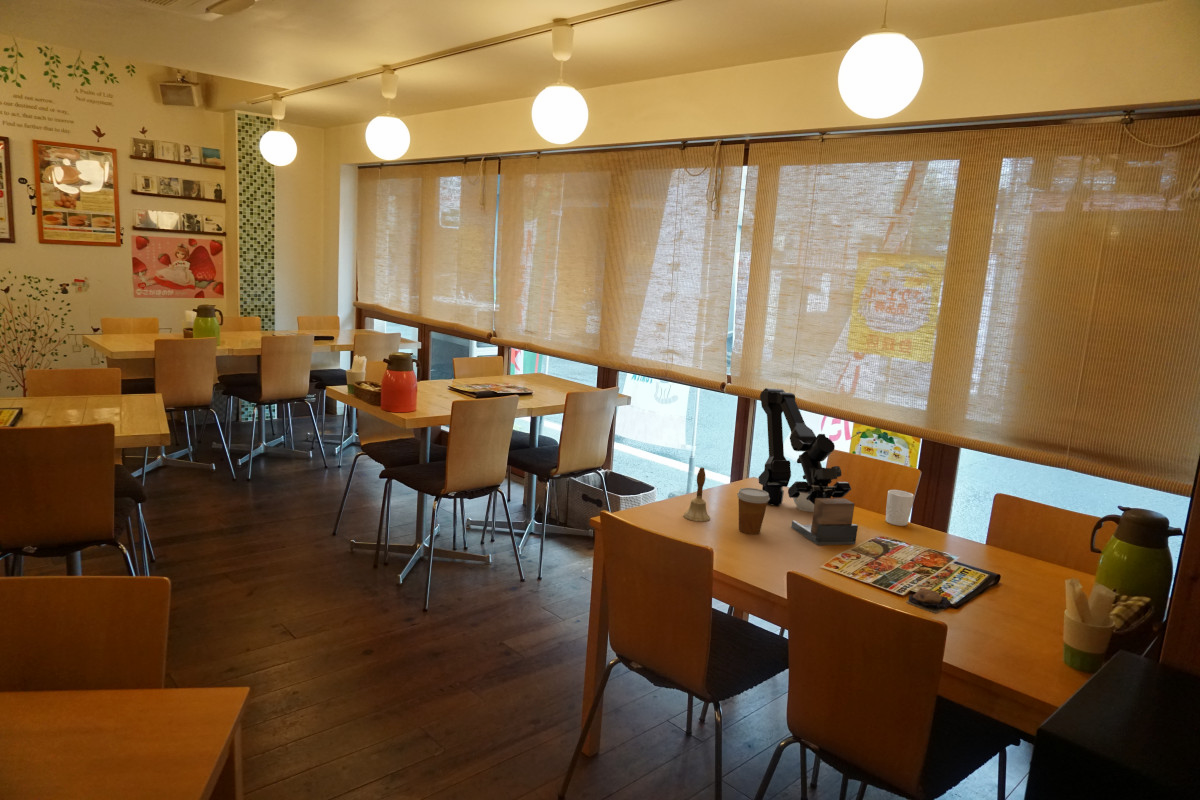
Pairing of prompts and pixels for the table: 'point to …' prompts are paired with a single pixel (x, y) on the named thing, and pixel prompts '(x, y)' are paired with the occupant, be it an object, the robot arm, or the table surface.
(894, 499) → the white cup
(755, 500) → the disposable coffee cup
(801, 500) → the lidded jar
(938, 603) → the bread roll
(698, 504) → the hand bell
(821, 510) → the walnut slider
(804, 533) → the grey open tray
